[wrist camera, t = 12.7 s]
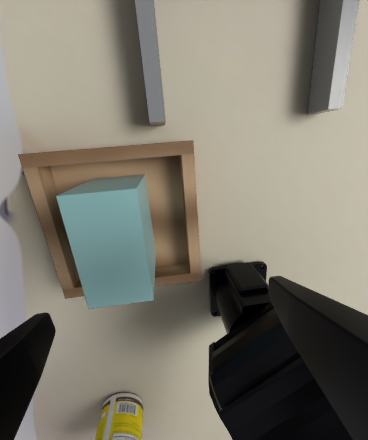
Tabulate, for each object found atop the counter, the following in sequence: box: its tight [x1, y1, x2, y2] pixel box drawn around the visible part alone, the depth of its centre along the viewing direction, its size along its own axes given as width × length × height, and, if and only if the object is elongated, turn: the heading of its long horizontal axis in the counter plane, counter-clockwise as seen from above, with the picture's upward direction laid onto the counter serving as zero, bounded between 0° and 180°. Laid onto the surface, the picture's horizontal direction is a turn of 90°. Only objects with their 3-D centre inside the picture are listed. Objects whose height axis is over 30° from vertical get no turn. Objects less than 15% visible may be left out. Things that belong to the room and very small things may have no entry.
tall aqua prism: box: [56, 174, 156, 309], centre depth 17 cm, size 9×4×7 cm, turn 4°
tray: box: [18, 141, 201, 299], centre depth 19 cm, size 13×13×3 cm
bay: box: [135, 0, 359, 126], centre depth 15 cm, size 11×15×2 cm
